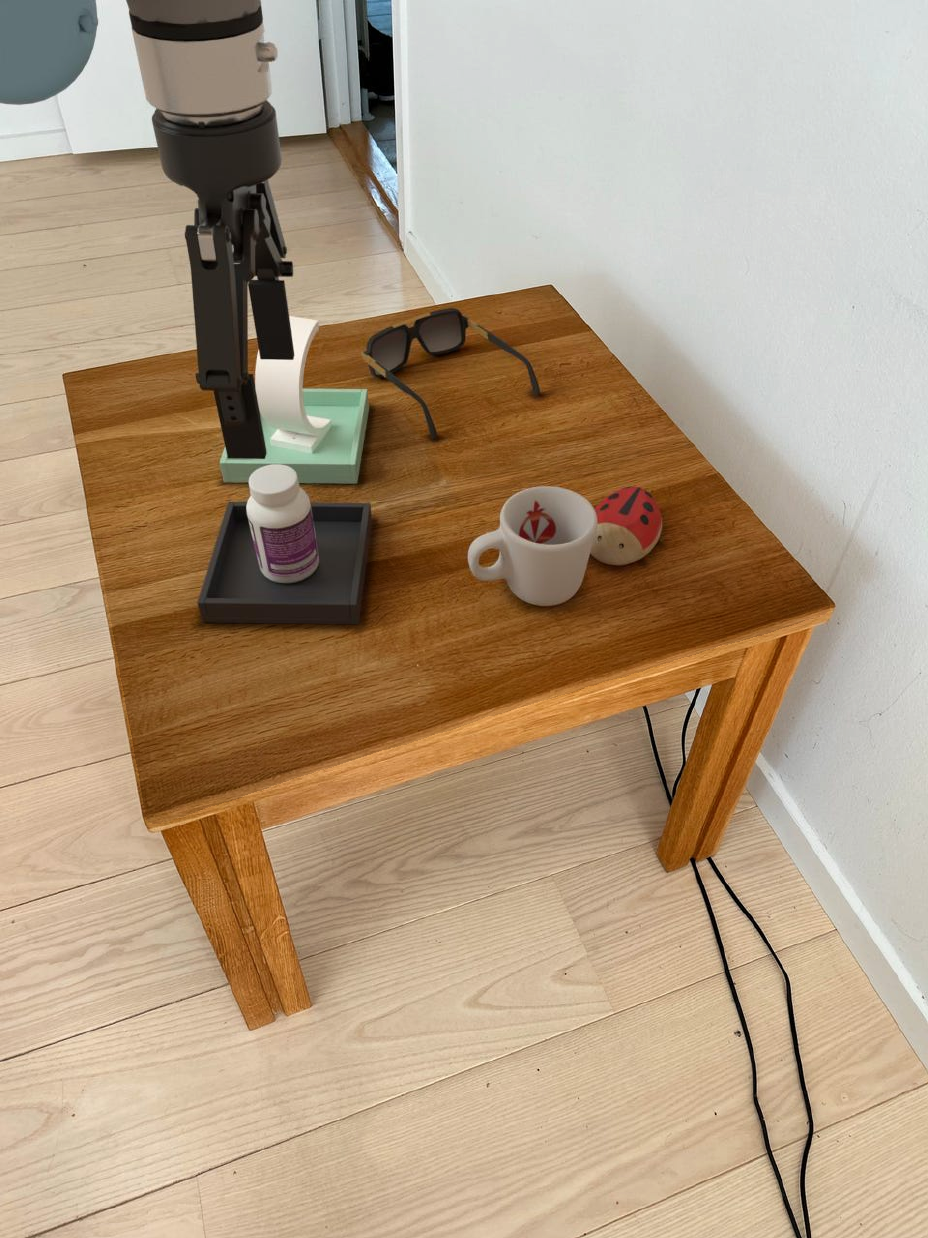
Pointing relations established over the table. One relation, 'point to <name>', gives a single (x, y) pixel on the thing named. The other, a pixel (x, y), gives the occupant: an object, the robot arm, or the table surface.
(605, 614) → the table surface
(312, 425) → the headphone stand
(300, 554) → the pill bottle
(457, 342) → the sunglasses
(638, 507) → the ladybug figurine
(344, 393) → the mint tray
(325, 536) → the charcoal tray
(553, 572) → the cup
